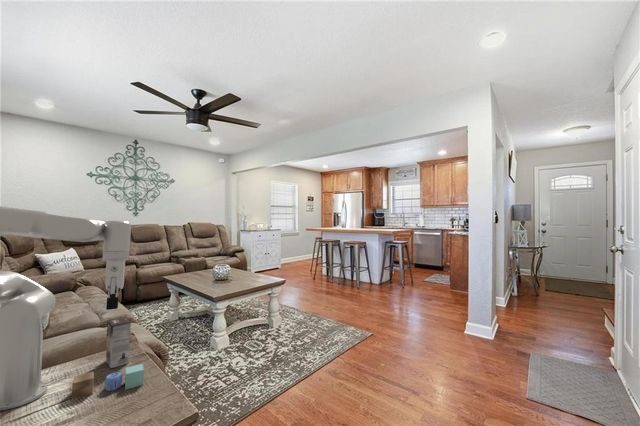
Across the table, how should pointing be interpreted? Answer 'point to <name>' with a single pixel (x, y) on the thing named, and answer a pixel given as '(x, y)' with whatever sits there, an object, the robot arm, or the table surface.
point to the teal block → (134, 376)
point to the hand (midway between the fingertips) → (112, 308)
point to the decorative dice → (113, 381)
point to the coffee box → (118, 341)
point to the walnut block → (82, 385)
